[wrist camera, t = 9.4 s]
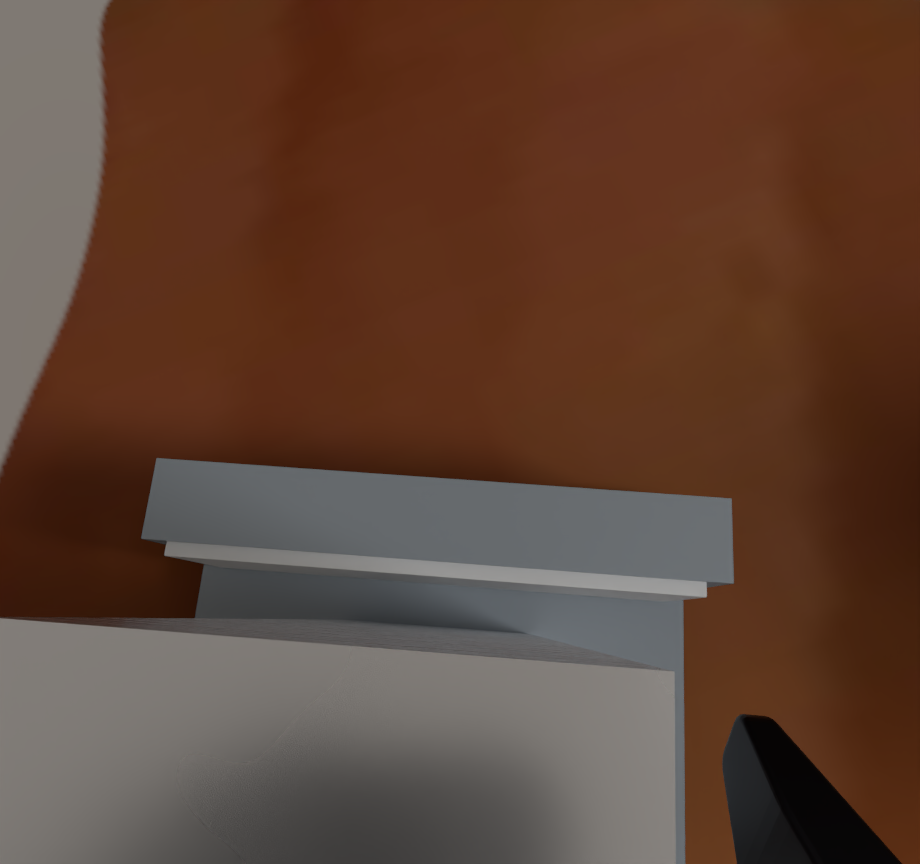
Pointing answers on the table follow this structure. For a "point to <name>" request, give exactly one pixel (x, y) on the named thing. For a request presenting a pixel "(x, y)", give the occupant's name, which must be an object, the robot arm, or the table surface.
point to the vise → (449, 557)
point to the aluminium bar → (327, 745)
